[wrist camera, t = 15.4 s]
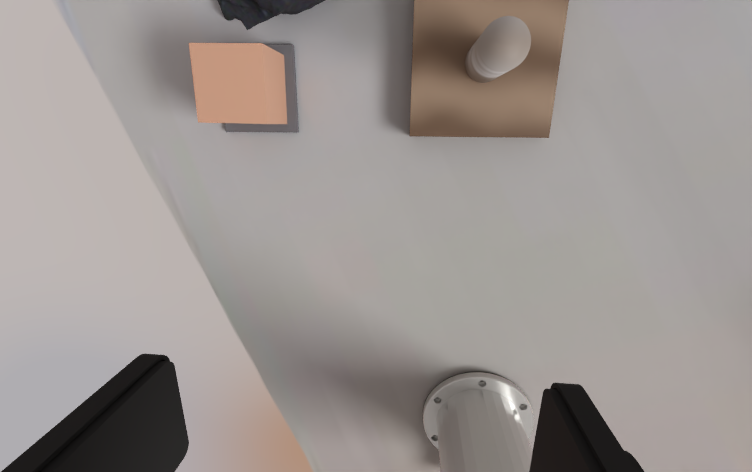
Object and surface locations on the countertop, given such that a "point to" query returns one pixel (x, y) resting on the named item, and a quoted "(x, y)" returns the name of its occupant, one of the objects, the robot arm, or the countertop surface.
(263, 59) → the peach colored cube
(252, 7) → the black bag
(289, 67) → the mat
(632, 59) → the countertop surface
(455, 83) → the square brown stand
